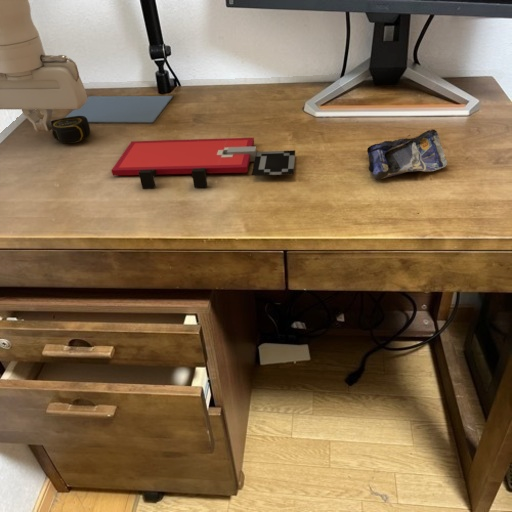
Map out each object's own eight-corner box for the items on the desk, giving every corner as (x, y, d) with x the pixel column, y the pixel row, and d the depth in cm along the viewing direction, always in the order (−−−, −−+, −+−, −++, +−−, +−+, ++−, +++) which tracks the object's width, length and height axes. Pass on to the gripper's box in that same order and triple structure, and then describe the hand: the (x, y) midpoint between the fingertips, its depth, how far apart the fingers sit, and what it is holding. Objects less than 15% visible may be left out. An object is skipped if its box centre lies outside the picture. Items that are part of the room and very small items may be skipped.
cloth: (60, 122, 102) (60, 121, 102) (89, 97, 113) (88, 96, 112) (153, 123, 99) (152, 121, 98) (173, 97, 109) (172, 95, 109)
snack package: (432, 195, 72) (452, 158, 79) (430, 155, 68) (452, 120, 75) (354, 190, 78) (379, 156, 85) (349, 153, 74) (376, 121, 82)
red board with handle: (293, 185, 75) (296, 143, 87) (292, 169, 74) (295, 128, 86) (105, 189, 79) (133, 148, 91) (101, 173, 77) (129, 134, 89)
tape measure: (90, 129, 98) (85, 111, 96) (93, 143, 93) (88, 124, 91) (55, 136, 97) (49, 117, 94) (55, 150, 92) (49, 131, 89)
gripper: (81, 49, 88) (101, 123, 96) (-23, 51, 91) (6, 122, 99) (64, 60, 83) (87, 137, 91) (-44, 62, 86) (-12, 136, 95)
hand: (44, 129), depth 95 cm, fingers closed
